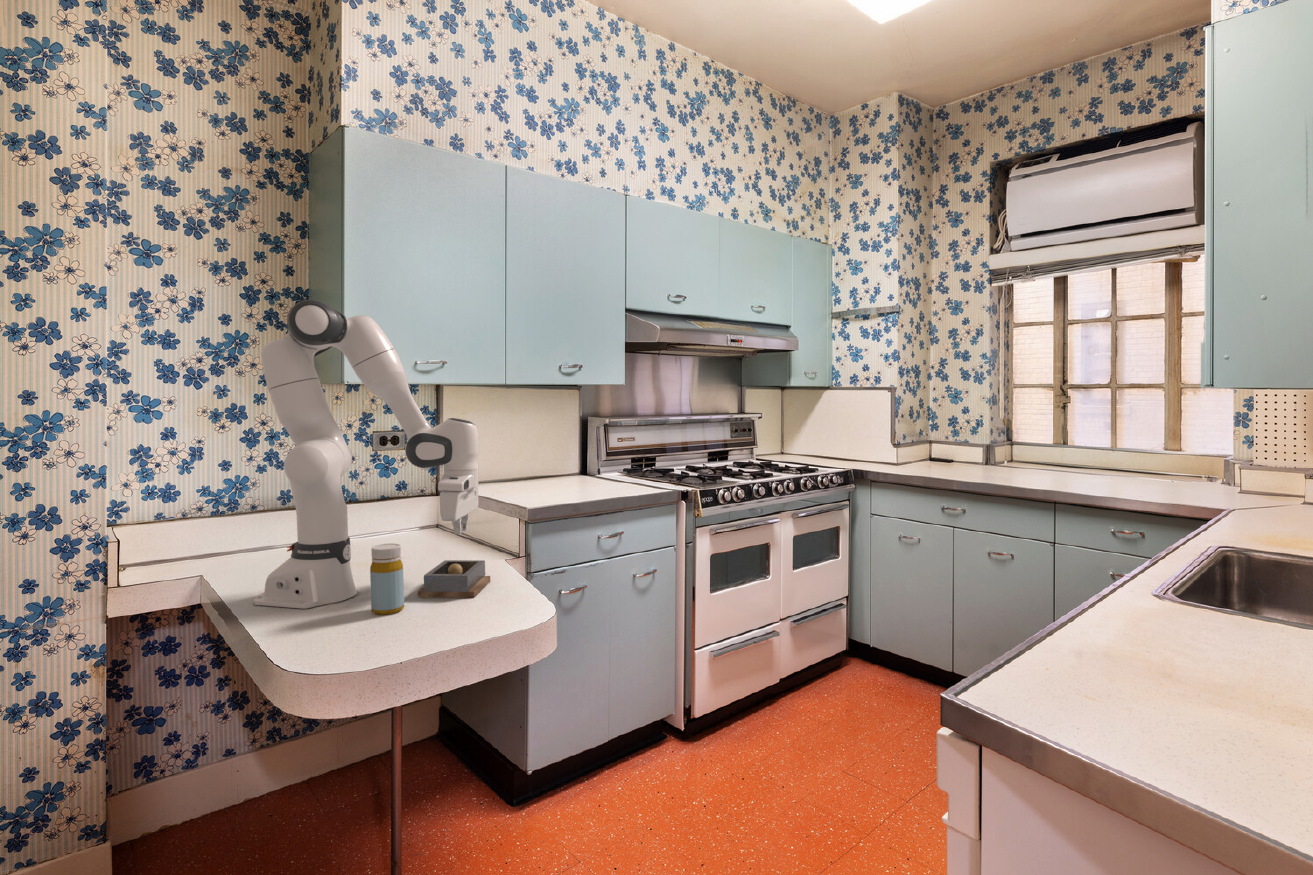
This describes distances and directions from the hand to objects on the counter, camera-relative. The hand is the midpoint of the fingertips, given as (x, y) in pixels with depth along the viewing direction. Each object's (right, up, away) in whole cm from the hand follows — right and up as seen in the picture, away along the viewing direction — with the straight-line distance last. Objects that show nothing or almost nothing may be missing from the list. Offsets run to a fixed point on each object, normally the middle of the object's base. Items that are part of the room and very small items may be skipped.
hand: (460, 532), depth 173 cm
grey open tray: (0, -12, -5) cm, 13 cm away
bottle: (-10, -15, -22) cm, 29 cm away
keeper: (0, -14, -6) cm, 15 cm away
